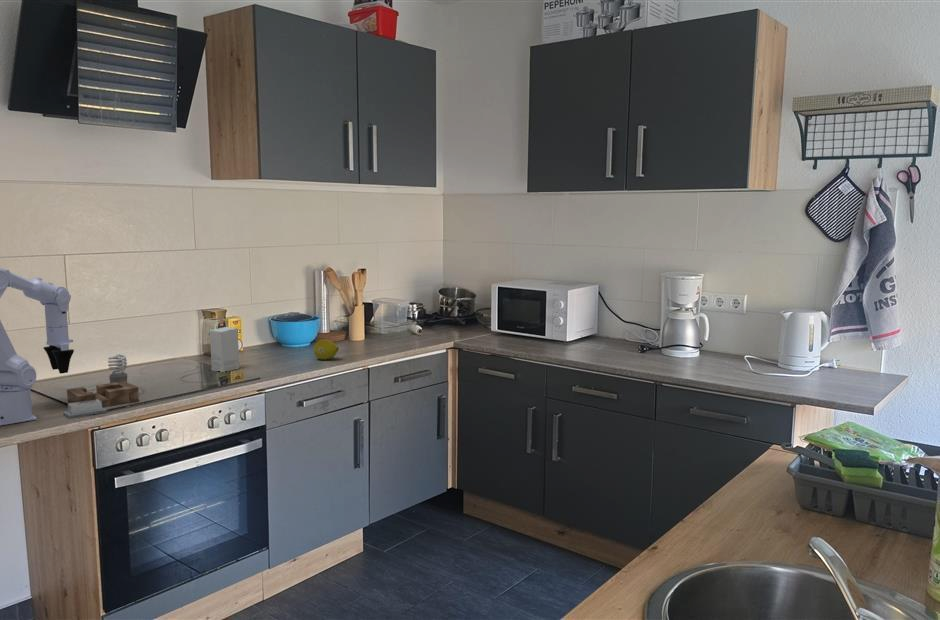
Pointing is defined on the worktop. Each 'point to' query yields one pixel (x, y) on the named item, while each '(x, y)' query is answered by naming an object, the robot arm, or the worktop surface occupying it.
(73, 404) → the aluminium tile
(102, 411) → the slate mat
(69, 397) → the pocket board
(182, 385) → the worktop surface
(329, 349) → the lemon
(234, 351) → the skincare box
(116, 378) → the light bulb
